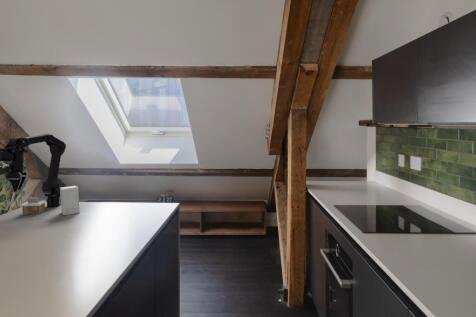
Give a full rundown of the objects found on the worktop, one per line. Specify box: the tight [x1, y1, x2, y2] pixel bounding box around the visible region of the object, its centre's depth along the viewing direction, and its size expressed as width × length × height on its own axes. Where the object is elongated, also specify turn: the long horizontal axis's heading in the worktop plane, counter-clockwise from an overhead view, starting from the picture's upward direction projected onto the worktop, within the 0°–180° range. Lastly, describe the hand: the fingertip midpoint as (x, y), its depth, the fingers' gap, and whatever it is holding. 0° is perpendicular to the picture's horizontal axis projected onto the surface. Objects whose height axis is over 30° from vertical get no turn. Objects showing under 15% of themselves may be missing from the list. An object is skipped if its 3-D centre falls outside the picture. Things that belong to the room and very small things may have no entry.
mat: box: [18, 210, 54, 221], centre depth 171 cm, size 11×16×1 cm
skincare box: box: [59, 185, 81, 216], centre depth 176 cm, size 8×6×15 cm
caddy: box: [21, 202, 46, 216], centre depth 175 cm, size 8×8×5 cm
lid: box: [20, 196, 47, 207], centre depth 175 cm, size 9×9×4 cm
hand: (17, 190), depth 169 cm, fingers open, 9 cm apart
